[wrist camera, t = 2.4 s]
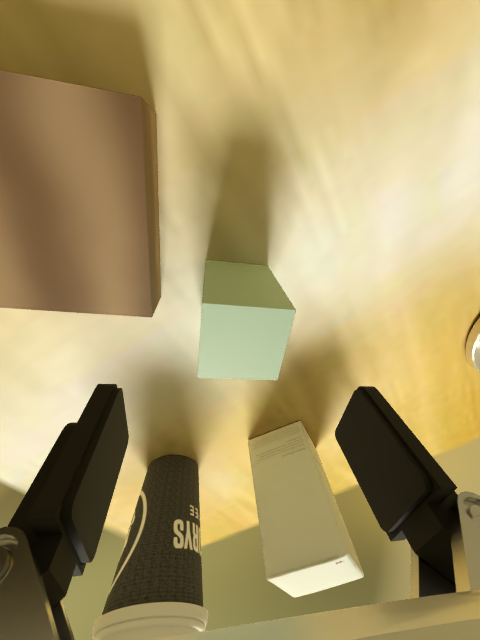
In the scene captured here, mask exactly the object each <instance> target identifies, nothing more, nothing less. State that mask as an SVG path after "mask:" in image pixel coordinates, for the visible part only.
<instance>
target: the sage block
mask: <svg viewBox="0 0 480 640" xmlns="http://www.w3.org/2000/svg"><path fill="white" fill-rule="evenodd" d="M295 312H296V309H295V308H294V306H293V305H292V303H291V301H290V300H289V298H288V297H287V295H286V294H285V292H284V291H283V289H282V287H281V286H280V284H279V283H278V281H277V280H276V278H275V277H274V275H273V274H272V272H271V270H270V269H269V267H268V266H265V265H256V264H246V263H236V262H226V261H216V260H206V264H205V275H204V286H203V297H202V311H201V328H200V344H199V361H198V377H197V378H219V379H252V380H278V376H279V372H280V369H281V365H282V361H283V357H284V354H285V350H286V346H287V342H288V339H289V335H290V331H291V327H292V324H293V320H294V316H295Z"/></svg>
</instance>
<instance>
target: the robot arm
mask: <svg viewBox="0 0 480 640" xmlns="http://www.w3.org/2000/svg"><path fill="white" fill-rule="evenodd" d="M465 353H466V358H467V360H468V362H469V363H470V365H471V366H473V367H474V368H475V369H476V370H478V371H479V372H480V317H479V318H478V320H477V321H476V323H475V324H474V326H473V328H472V330H471V331H470V333H469V336H468V339H467V342H466V351H465ZM335 436H336V439H337V441H338V443H339V445H340V447H341V449H342V451H343V453H344V455H345V457H346V459H347V461H348V463H349V465H350V467H351V469H352V471H353V473H354V475H355V477H356V479H357V481H358V483H359V485H360V487H361V489H362V491H363V493H364V495H365V497H366V499H367V501H368V503H369V505H370V507H371V509H372V511H373V513H374V515H375V517H376V519H377V521H378V523H379V525H380V527H381V528H382V529H383V530H384V531H385V532H386V533H387V535H388V536H389V538H390V540H391V541H399V540H405V539H407V540H408V542H409V544H410V546H411V578H410V599H406V600H399V601H393V602H386V603H380V604H373V605H367V606H359V607H353V608H347V609H340V610H334V611H328V612H321V613H315V614H308V615H302V616H295V617H290V618H283V619H276V620H270V621H264V622H257V623H251V624H245V625H239V626H233V627H226V628H220V629H214V630H208V631H202V632H196V633H189V634H183V635H177V636H171V637H166V638H160V639H155V640H480V496H479V495H477V494H474V493H471V492H462V493H460V494H459V495H457V494H456V492H455V491H454V490H455V489H456V488H457V487H456V485H455V484H454V483H453V482H452V481H451V479H450V478H449V477H448V476H447V474H446V473H445V472H444V471H443V469H442V468H441V467H440V466H439V465H438V463H437V462H436V461H435V460H434V459H433V457H432V456H431V455H430V453H429V452H428V451H427V450H426V449H425V447H424V446H423V445H422V444H421V442H420V441H419V440H418V439H417V438H416V436H415V435H414V434H413V433H412V431H411V430H410V429H409V428H408V426H407V425H406V424H405V423H404V422H403V420H402V419H401V418H400V417H399V415H398V414H397V413H396V412H395V411H394V409H393V408H392V407H391V406H390V404H389V403H388V402H387V401H386V400H385V398H384V397H383V396H382V395H381V393H380V392H379V391H378V390H377V389H376V388H375V387H366V386H360V387H358V388H357V390H355V391H354V393H353V395H352V397H351V399H350V401H349V403H348V405H347V407H346V409H345V411H344V414H343V416H342V418H341V420H340V422H339V424H338V426H337V428H336V431H335ZM128 438H129V435H128V427H127V420H126V413H125V405H124V398H123V391H122V388H117V385H116V384H98V385H97V387H96V388H95V390H94V392H93V394H92V396H91V398H90V400H89V401H88V403H87V405H86V407H85V409H84V411H83V413H82V415H81V417H80V418H79V420H78V422H77V423H69V424H67V425H66V426H65V427H64V429H63V430H62V432H61V434H60V435H59V437H58V439H57V441H56V442H55V444H54V446H53V448H52V449H51V451H50V453H49V455H48V456H47V458H46V460H45V462H44V463H43V465H42V467H41V469H40V470H39V472H38V474H37V476H36V477H35V479H34V481H33V483H32V484H31V486H30V488H29V490H28V491H27V493H26V495H25V497H24V499H23V500H22V502H21V504H20V505H19V507H18V509H17V511H16V513H15V514H14V516H13V518H12V519H11V521H10V523H9V525H8V526H7V527H2V528H0V640H74V636H73V633H72V630H71V627H70V624H69V620H68V617H67V614H66V611H65V608H64V605H63V602H62V599H63V598H64V597H65V596H66V593H67V590H68V587H69V584H70V581H71V578H72V576H81V575H82V574H83V572H84V568H85V565H86V563H90V562H92V560H93V558H94V556H95V553H96V550H97V546H98V543H99V540H100V536H101V533H102V529H103V526H104V523H105V519H106V516H107V512H108V509H109V506H110V502H111V499H112V496H113V492H114V489H115V485H116V482H117V479H118V475H119V472H120V468H121V465H122V462H123V458H124V455H125V452H126V448H127V445H128Z"/></svg>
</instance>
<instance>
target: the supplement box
mask: <svg viewBox="0 0 480 640" xmlns="http://www.w3.org/2000/svg"><path fill="white" fill-rule="evenodd" d="M248 446H249V454H250V461H251V468H252V475H253V483H254V490H255V497H256V504H257V511H258V518H259V525H260V533H261V540H262V547H263V555H264V562H265V569H266V577H267V580H268V581H270V582H272V583H273V584H275V585H276V586H278V587H279V588H281V589H282V590H284V591H285V592H287V593H288V594H290V595H291V596H292V597H294V598H295V597H299V596H303V595H307V594H310V593H314V592H317V591H321V590H324V589H327V588H331V587H334V586H337V585H340V584H343V583H347V582H350V581H353V580H357V579H359V578H362V577H363V576H364V574H363V571H362V569H361V566H360V563H359V560H358V558H357V555H356V552H355V550H354V547H353V544H352V541H351V539H350V536H349V534H348V531H347V529H346V526H345V523H344V521H343V518H342V516H341V513H340V510H339V508H338V505H337V503H336V500H335V497H334V495H333V492H332V490H331V487H330V484H329V482H328V479H327V477H326V474H325V472H324V469H323V466H322V463H321V461H320V458H319V455H318V453H317V450H316V448H315V446H314V444H313V442H312V440H311V439H310V437H309V435H308V433H307V432H306V430H305V428H304V426H303V424H302V423H301V421H298V422H295V423H293V424H290V425H287V426H285V427H282V428H279V429H277V430H274V431H271V432H269V433H266V434H263V435H261V436H258V437H255V438H253V439H251V440H249V441H248Z"/></svg>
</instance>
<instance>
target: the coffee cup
mask: <svg viewBox="0 0 480 640" xmlns="http://www.w3.org/2000/svg"><path fill="white" fill-rule="evenodd" d="M201 567H202V566H201V538H200V507H199V476H198V466H197V464H196V463H195V462H194V461H193V460H192V459H190V458H187V457H184V456H179V455H169V456H164V457H160V458H158V459H156V460H154V461H153V462H152V463H151V464H150V465H149V467H148V470H147V473H146V477H145V480H144V483H143V486H142V490H141V493H140V496H139V499H138V502H137V506H136V509H135V512H134V515H133V518H132V522H131V525H130V528H129V531H128V535H127V538H126V541H125V544H124V547H123V550H122V554H121V557H120V560H119V563H118V567H117V570H116V573H115V576H114V579H113V582H112V585H111V589H110V592H109V595H108V598H107V601H106V604H105V607H104V610H103V613H102V616H100V617H99V618H98V619H97V620H96V621H95V622H94V624H93V635H92V636H93V640H155V639H160V638H166V637H171V636H177V635H183V634H189V633H196V632H202V631H205V627H206V625H207V619H208V611H207V610H206V609H205V608H203V592H202V568H201Z"/></svg>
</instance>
